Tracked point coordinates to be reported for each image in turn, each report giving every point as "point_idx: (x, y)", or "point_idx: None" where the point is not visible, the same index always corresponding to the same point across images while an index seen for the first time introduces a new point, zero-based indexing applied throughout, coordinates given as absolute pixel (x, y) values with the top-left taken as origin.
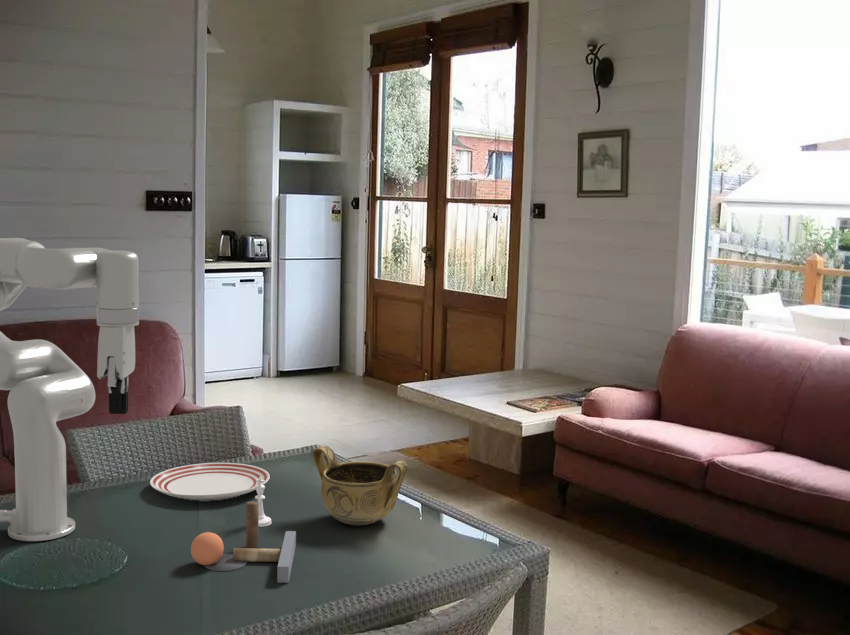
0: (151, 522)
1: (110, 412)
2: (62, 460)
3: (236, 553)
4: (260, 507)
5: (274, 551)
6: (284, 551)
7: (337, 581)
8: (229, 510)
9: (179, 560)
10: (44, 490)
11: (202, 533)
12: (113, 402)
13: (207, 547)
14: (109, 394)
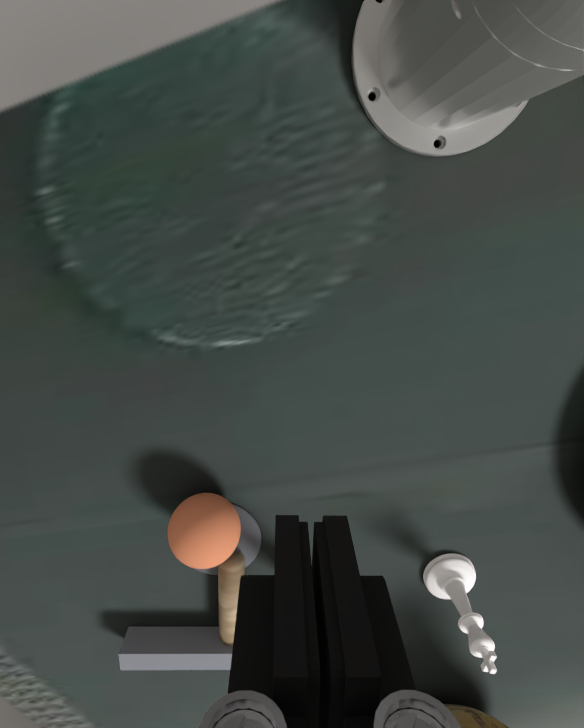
0: (482, 349)
1: (275, 525)
2: (530, 70)
3: (219, 569)
4: (455, 605)
5: (223, 633)
6: (197, 659)
7: (144, 704)
8: (543, 508)
9: (229, 453)
10: (419, 37)
11: (204, 542)
12: (235, 633)
13: (169, 544)
14: (276, 664)
